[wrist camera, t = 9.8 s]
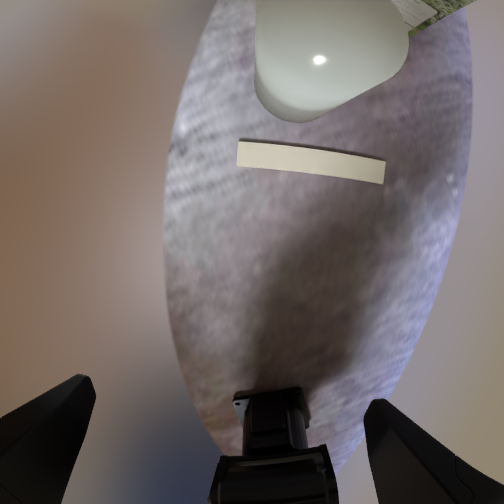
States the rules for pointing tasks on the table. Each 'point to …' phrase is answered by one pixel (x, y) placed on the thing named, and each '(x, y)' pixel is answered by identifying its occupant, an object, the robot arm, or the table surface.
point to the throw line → (310, 161)
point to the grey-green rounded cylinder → (324, 53)
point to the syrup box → (426, 12)
